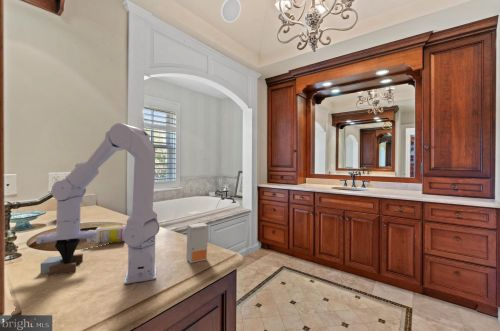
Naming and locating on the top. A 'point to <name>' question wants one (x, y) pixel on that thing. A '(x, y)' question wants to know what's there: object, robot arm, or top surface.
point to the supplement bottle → (108, 234)
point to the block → (50, 263)
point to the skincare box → (197, 242)
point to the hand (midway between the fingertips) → (67, 263)
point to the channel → (66, 266)
